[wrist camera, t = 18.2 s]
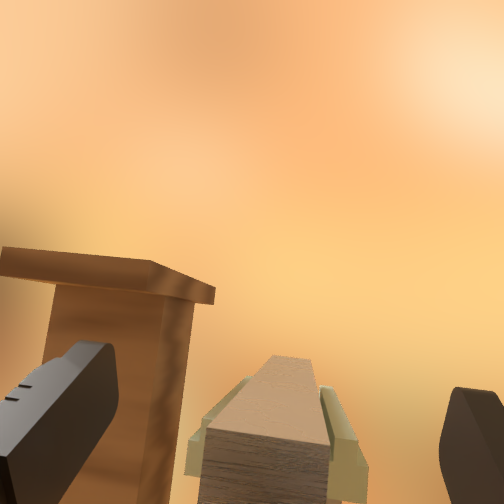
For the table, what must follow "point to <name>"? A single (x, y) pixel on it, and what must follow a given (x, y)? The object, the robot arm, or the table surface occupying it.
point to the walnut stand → (122, 360)
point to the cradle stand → (341, 448)
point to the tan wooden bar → (269, 441)
